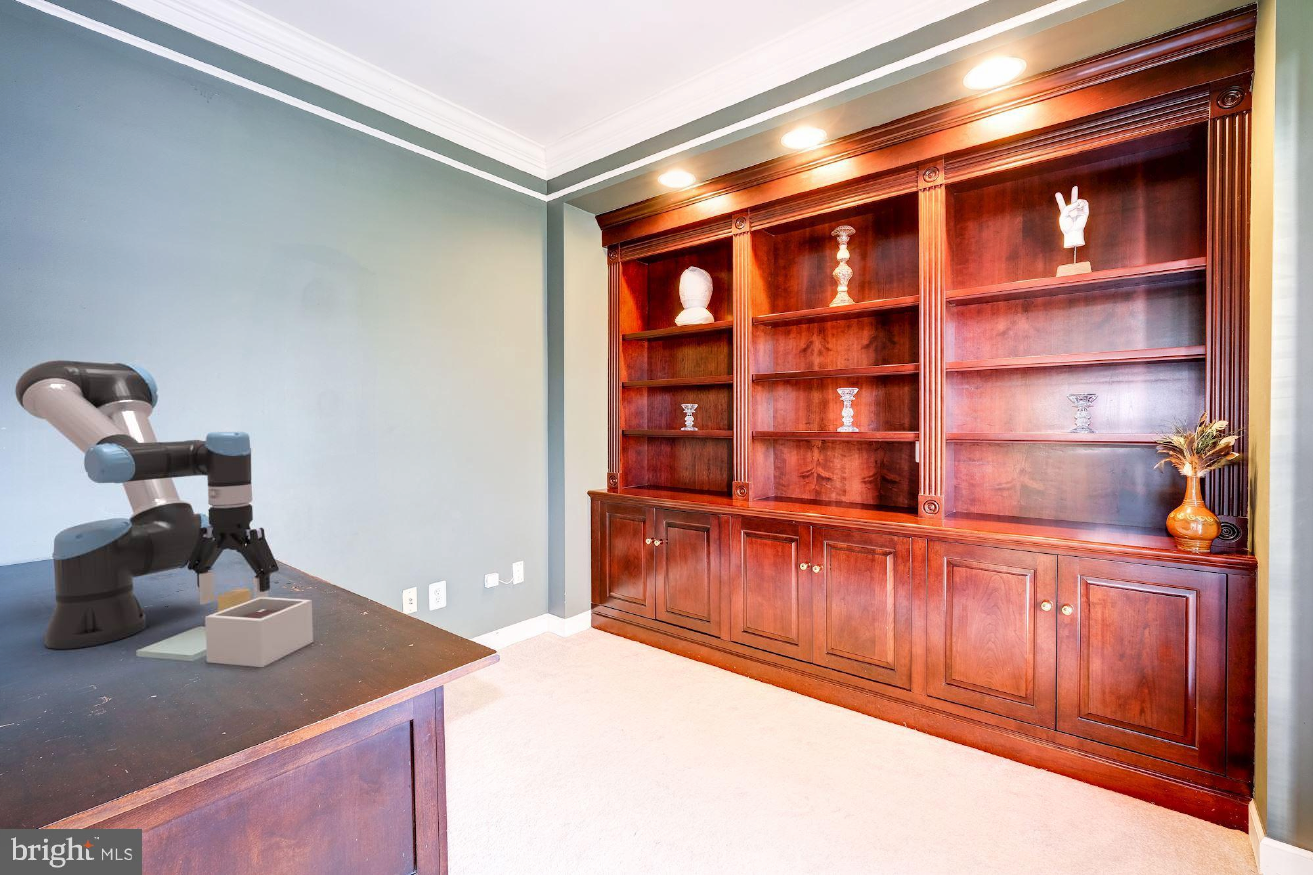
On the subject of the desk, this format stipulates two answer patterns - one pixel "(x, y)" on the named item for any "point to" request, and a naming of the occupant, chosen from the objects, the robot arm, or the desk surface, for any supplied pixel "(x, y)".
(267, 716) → the desk surface
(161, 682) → the desk surface
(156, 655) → the lid
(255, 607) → the tub
